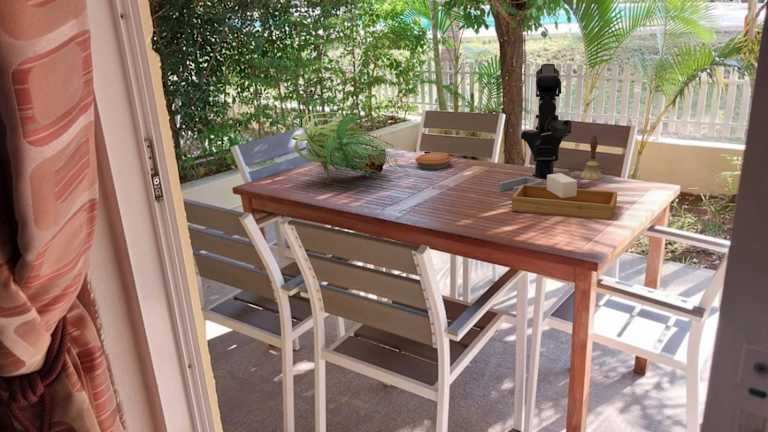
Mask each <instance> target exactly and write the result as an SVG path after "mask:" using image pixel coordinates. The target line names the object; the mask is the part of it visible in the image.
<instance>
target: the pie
mask: <svg viewBox="0 0 768 432" xmlns="http://www.w3.org/2000/svg"><path fill="white" fill-rule="evenodd" d="M452 159H453V157H452V156H450V155H449V154H447V153H444V152H428V153H421V154H420V155H418V156H417V157H415V158H414V161H415V163H416V164H418V166H419V167H420V168H421V169H423V170H425V171H426V170H427V171H438V170H445V169H446V168H447V167H448V166H449V164H450V162H451V161H452Z"/></svg>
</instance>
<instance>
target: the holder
mask: <svg viewBox="0 0 768 432" xmlns="http://www.w3.org/2000/svg"><path fill="white" fill-rule="evenodd" d="M498 184H499V185H498V187H499V189H498V191H499V192H501V193H502V192H505V190H506V191H509V189H510V190H513V194H512V196H513V195H514V194H515V193H516V191H517V190H518V189H519V188H520V187H521V185H522V184H525V185H538V186H544V180H541V179H537V178H534V177H531V176H527V175H526V176H522V177H517V178H513V179H510V180H506V181H500V182H499V183H498Z"/></svg>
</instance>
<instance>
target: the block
mask: <svg viewBox="0 0 768 432" xmlns="http://www.w3.org/2000/svg"><path fill="white" fill-rule="evenodd" d="M546 186H547V190H549V191H550V192H552V193H554V194H556V195H558V196H559V197H561V198H565V197H572V196H576V194H577V189H578V180H576V179H574V178H572V177H570V176H568V175H566V174H564V173H561V172H558V173H553V174H550V175H547V178H546Z"/></svg>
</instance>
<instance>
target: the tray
mask: <svg viewBox="0 0 768 432" xmlns="http://www.w3.org/2000/svg"><path fill="white" fill-rule="evenodd" d="M617 199H618V191H610V190H599V189H597V190H596V189H587V188H586V189H585V188H577V194H576V196H572V197H565V198H561V197H559V196H558V195H556V194H554V193H552V192H550V191H549V190H547V185H543V186H538V185H525V184H522V185H521V187H520V188H519V189H518V190H517V191H516V193H515V194H514V195H513V194H512V197H511V211H512V212H514V211H519V212H518V213H527V214H536V213H537V215H538V214H540V215H548V216H559V217H567V218H568V217H569V218H580V219H590V220H591V219H593V220H602V221H603V220H604V221H613V218H614V214H615V210H616V207H617V201H618V200H617Z"/></svg>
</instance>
